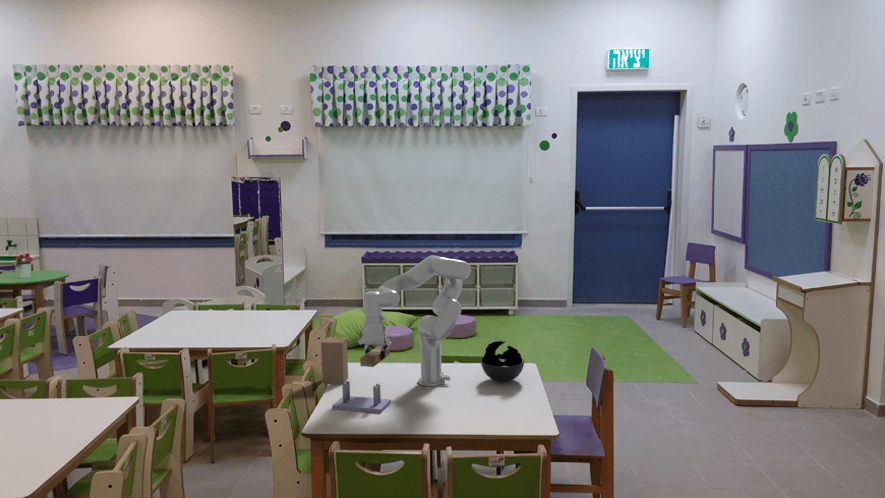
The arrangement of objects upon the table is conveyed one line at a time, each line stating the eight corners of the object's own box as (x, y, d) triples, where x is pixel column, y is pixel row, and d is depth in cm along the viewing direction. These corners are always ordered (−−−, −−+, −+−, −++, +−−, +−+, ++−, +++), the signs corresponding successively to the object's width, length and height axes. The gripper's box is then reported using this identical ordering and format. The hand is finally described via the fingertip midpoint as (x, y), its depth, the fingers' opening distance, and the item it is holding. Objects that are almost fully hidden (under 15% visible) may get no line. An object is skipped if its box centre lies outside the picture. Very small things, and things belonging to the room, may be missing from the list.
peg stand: (391, 403, 297) (390, 381, 296) (381, 413, 286) (380, 390, 284) (343, 398, 303) (343, 377, 302) (332, 408, 292) (331, 386, 290)
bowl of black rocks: (480, 374, 333) (480, 336, 331) (522, 374, 332) (522, 336, 330) (481, 388, 314) (481, 348, 311) (525, 388, 313) (525, 347, 310)
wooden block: (348, 377, 332) (346, 337, 330) (343, 384, 323) (341, 342, 320) (328, 377, 333) (326, 336, 331) (322, 384, 324) (320, 342, 321)
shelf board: (377, 353, 317) (377, 346, 317) (389, 354, 315) (389, 347, 315) (360, 366, 300) (360, 358, 300) (373, 367, 298) (372, 359, 298)
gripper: (394, 317, 306) (396, 357, 309) (358, 316, 311) (360, 355, 314) (389, 322, 299) (390, 362, 302) (352, 320, 304) (354, 360, 307)
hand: (375, 358), depth 308 cm, fingers closed on shelf board, 6 cm apart
